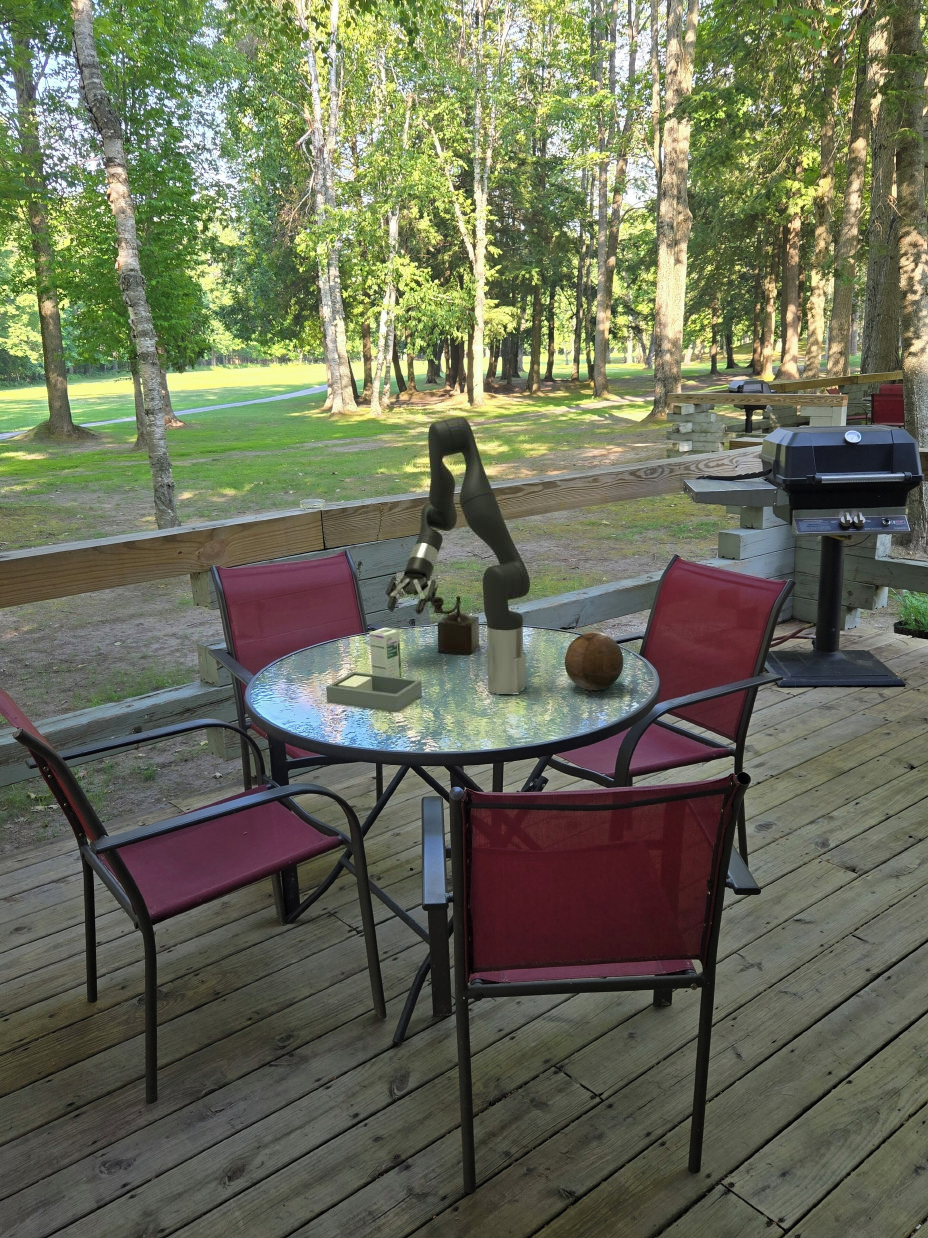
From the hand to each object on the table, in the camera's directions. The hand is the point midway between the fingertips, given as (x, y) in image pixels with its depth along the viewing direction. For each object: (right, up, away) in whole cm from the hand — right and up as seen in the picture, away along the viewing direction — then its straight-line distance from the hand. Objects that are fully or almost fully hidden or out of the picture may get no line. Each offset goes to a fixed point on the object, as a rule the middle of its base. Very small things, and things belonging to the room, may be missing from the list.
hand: (403, 611), depth 248 cm
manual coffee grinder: (+14, -12, +22) cm, 29 cm away
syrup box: (-4, -19, -5) cm, 20 cm away
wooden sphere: (+50, -20, -14) cm, 56 cm away
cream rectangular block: (-11, -22, -19) cm, 31 cm away
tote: (-6, -23, -21) cm, 31 cm away
